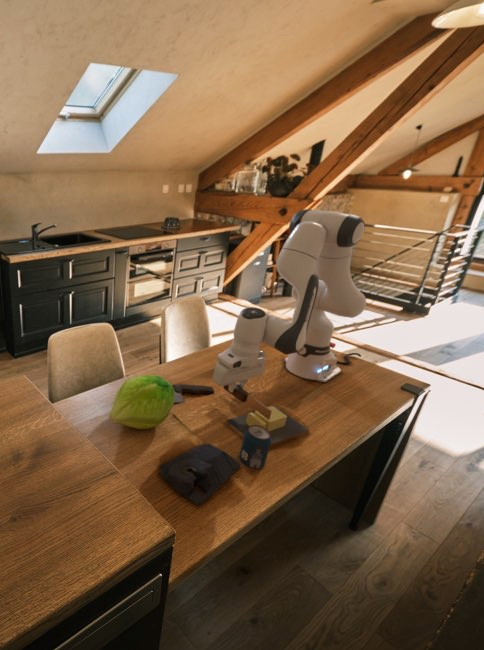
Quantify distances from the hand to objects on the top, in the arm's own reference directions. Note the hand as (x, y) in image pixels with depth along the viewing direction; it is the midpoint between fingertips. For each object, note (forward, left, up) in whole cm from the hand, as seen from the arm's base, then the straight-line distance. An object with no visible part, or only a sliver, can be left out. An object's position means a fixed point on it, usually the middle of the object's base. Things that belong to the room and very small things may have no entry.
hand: (235, 390), depth 132 cm
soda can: (+13, +21, -9) cm, 27 cm away
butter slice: (+1, +11, -7) cm, 14 cm away
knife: (0, +5, -2) cm, 5 cm away
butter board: (-4, +12, -8) cm, 15 cm away
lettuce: (+34, -7, -9) cm, 36 cm away
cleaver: (+13, -15, -9) cm, 21 cm away
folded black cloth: (+29, +18, -9) cm, 36 cm away
